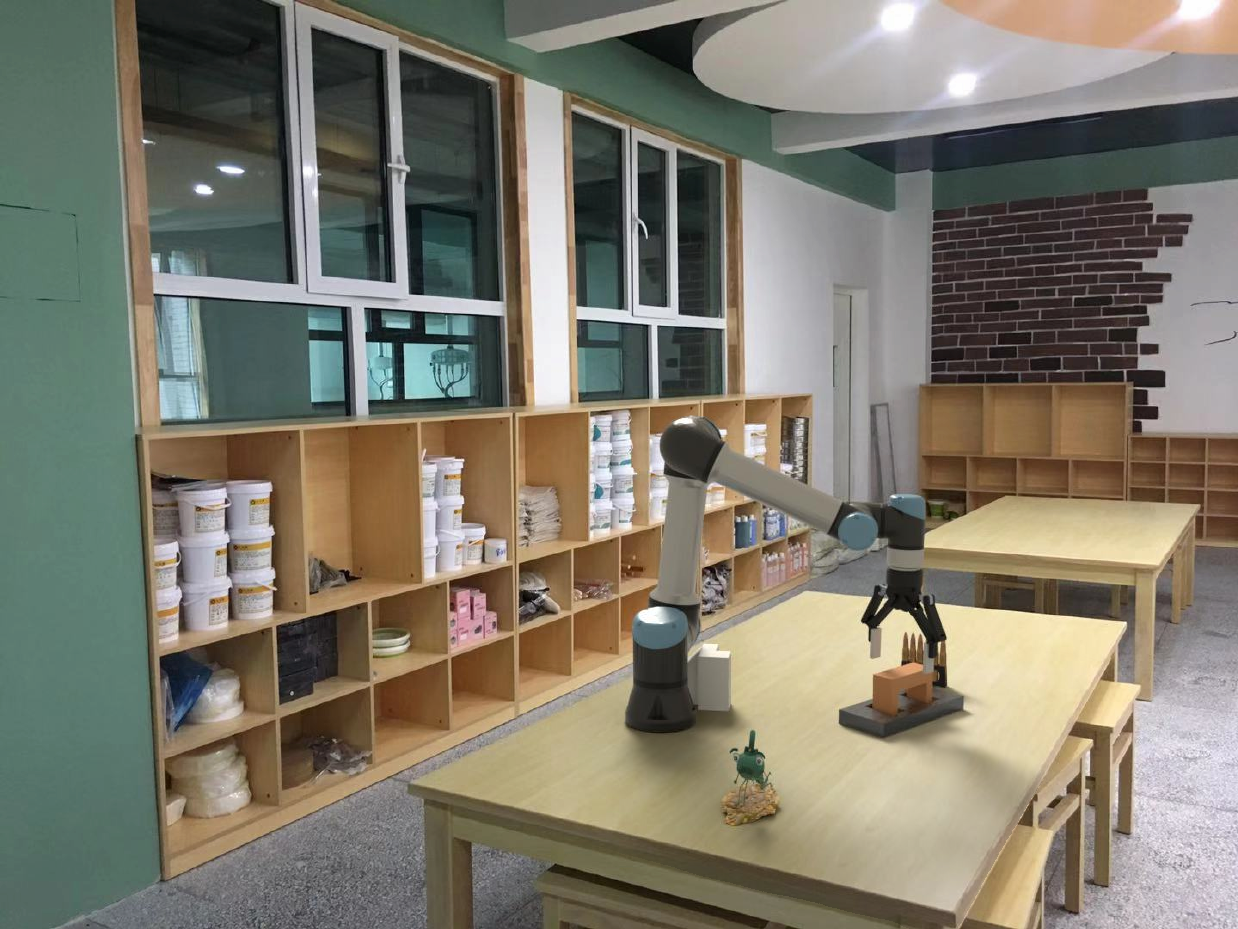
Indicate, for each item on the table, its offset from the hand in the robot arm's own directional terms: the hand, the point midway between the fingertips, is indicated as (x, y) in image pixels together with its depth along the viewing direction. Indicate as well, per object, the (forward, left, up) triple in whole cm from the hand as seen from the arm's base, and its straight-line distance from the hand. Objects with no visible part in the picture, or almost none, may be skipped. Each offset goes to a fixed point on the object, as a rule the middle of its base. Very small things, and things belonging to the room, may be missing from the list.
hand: (901, 665), depth 224 cm
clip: (0, 0, -11) cm, 11 cm away
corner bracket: (-26, +34, -12) cm, 44 cm away
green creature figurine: (-58, -13, -12) cm, 60 cm away
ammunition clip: (+23, +11, -12) cm, 28 cm away
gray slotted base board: (0, 0, -11) cm, 11 cm away
